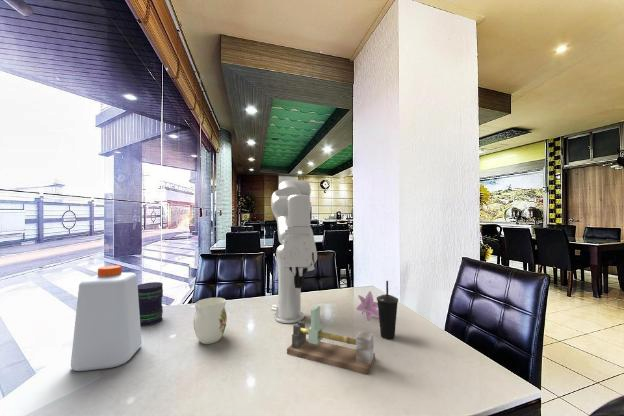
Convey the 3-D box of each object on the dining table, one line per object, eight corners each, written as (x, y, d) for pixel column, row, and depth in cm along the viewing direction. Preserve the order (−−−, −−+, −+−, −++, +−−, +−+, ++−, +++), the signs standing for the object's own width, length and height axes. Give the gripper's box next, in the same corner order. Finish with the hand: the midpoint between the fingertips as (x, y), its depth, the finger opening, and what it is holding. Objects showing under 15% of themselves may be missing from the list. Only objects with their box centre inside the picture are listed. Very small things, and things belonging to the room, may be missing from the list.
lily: (351, 323, 110) (360, 305, 107) (349, 303, 121) (357, 287, 117) (378, 330, 111) (388, 314, 107) (373, 310, 122) (382, 294, 118)
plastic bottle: (145, 343, 91) (146, 261, 92) (124, 368, 76) (125, 270, 77) (95, 348, 88) (96, 263, 88) (62, 375, 73) (64, 273, 74)
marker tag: (308, 342, 83) (308, 309, 84) (314, 336, 87) (314, 304, 88) (317, 344, 82) (317, 310, 82) (322, 338, 86) (322, 306, 86)
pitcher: (232, 326, 104) (232, 291, 104) (220, 350, 86) (220, 307, 86) (203, 327, 103) (204, 292, 103) (185, 351, 85) (185, 308, 86)
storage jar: (129, 324, 107) (129, 287, 107) (151, 315, 116) (152, 281, 116) (145, 328, 103) (146, 289, 104) (168, 318, 112) (168, 283, 113)
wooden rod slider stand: (286, 353, 84) (286, 326, 84) (300, 341, 92) (300, 316, 92) (368, 374, 73) (367, 343, 73) (375, 358, 81) (374, 330, 81)
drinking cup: (400, 342, 91) (399, 284, 91) (377, 340, 92) (376, 283, 93) (397, 332, 98) (396, 278, 99) (376, 331, 100) (375, 277, 100)
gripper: (273, 231, 88) (273, 287, 87) (314, 232, 81) (315, 292, 81) (285, 230, 95) (285, 282, 94) (324, 231, 88) (324, 287, 87)
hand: (299, 287), depth 87 cm, fingers closed
